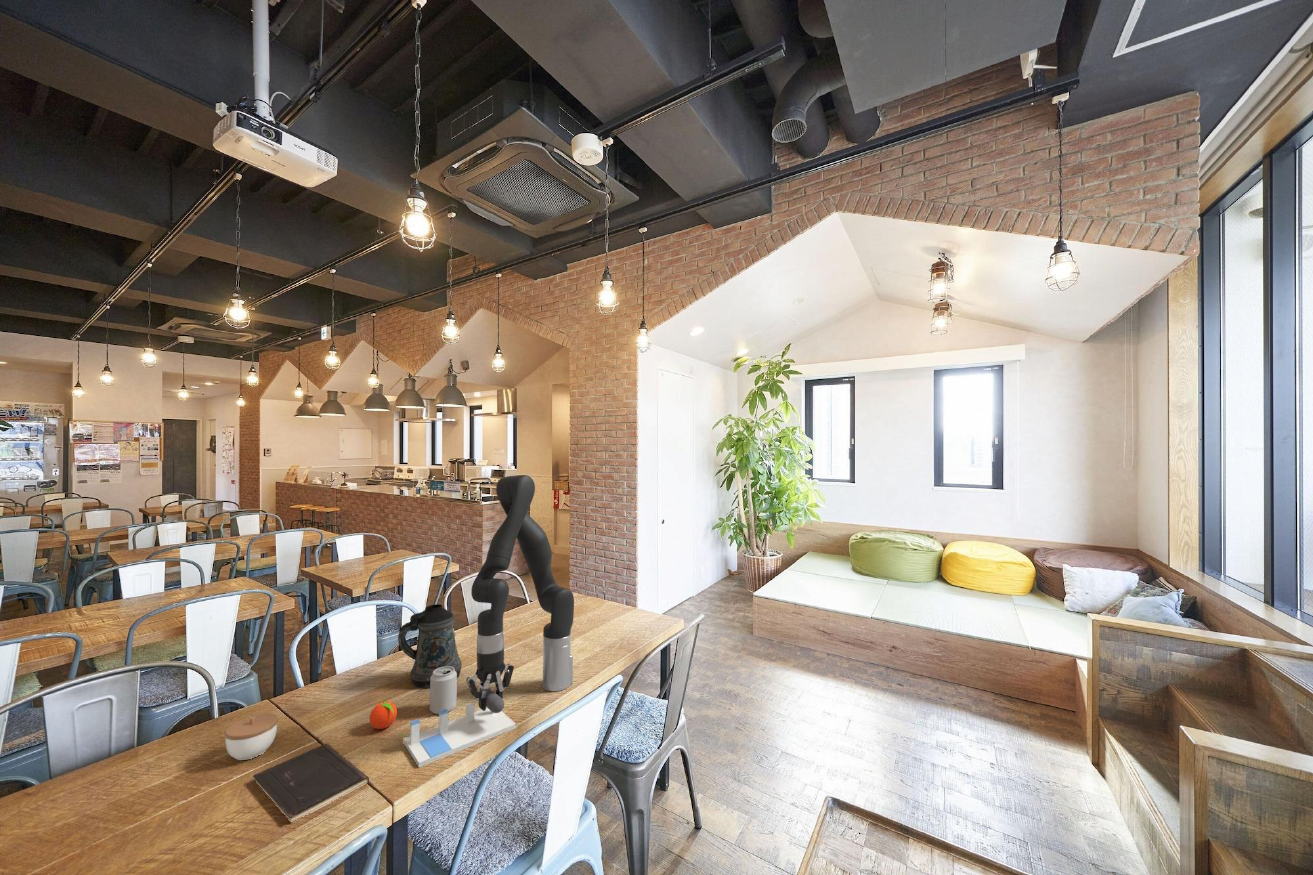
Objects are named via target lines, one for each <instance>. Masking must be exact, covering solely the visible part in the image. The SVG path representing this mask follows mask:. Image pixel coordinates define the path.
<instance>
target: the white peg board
mask: <svg viewBox="0 0 1313 875" xmlns="http://www.w3.org/2000/svg"><path fill="white" fill-rule="evenodd" d="M475 705H476V704H475V702H474V701H472V702H469V703H466V704H465V706H466V707H465V715H464V716H461V717H459V718H458V717H457V718H455V719H452V720H450V721H449V712H448V710H447V709H445V710H443V711H440V712H439V714H438V715H439V716H438V717H439V718H438V725H436V726H434V727H431V728H427V729H425V730H423V731H420V722H421V721H420V719H419V718H417V719H414V720H411V721H410V723H409V724H410V725H409V728H410V729H409V736H406V737H403V738H402V739H403V741H402V743H403V744H404V746H405V748H406V750H407V751H408V753H409V754H410V755H411V758H412V759H413V761H414V762H415V764H416V765H417V768H422V767H424V766H427V765H429V764H431V763H433V762H436V761H439V760H442V759H443V758H446V757H449V756H451V755H453V754H456V753H459V752H461V751H463V750H465V749H467V748H471V747H472V746H476V745H478V744H480V743H483V742H485V741H487V740H490V739H493V738H494V737H495V738H496V737H497V736H500V735H502V734H504V733H507V732H510V731H512V730H514V729H515V730H516V728H517V727H516V723H515V722H514V721H513V719H511V718H510V717H509V716H508V715H507V714H506V713H504V712H503V710H502V711H501V712H499V713H493V712H491V711H490V710H489V709H488V708H487V707H486V710H485V711H482V710H481V709H480V710H477V711H476V710H475V708H476V707H475Z"/></svg>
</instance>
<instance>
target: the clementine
mask: <svg viewBox="0 0 1313 875" xmlns="http://www.w3.org/2000/svg"><path fill="white" fill-rule="evenodd" d="M397 716H398V710H397V706H396V705H395V704H394V703H393V702H391V701H387V700H386V701H382V702H379V703H378V704H376V705H375V706H374V707H373V708H372V710H371V711H370V714H369V723H370V725H371V726H372V727H373V728H374V729H377V730H383V729H386V728H388V727H390V726H391V725H393V723H394V722H395V721H396V718H397Z"/></svg>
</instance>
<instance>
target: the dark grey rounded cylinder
mask: <svg viewBox="0 0 1313 875" xmlns="http://www.w3.org/2000/svg"><path fill="white" fill-rule="evenodd" d="M485 697H486V708H488V709H489V710H490V711H491V712H493V713H499V712H501V711H502V712H503V710H504V707H505V701H504V698H503V699H502V698H501V697H500V696H498V695H497V694H496V691H494V690H492V689H491V688H490V687H488V690H487V691H486V695H485ZM478 700H479V698H478Z"/></svg>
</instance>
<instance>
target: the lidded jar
mask: <svg viewBox="0 0 1313 875" xmlns="http://www.w3.org/2000/svg"><path fill="white" fill-rule="evenodd" d="M278 722H279V716H278V715H277V714H275V713H271V712H270V713H268V712H267V713H258V714H253V715H250V716H248V717H245V718H242V719H239V720H237V721H235V722H233V723H232V724H231V725H229V726H228V727H227V728H226V729H225V731H224V737H225V741H224V742H225V747H226V748H225V749H226V751H227V754H228V755H229V756H230V757H231V758H233V759H235V760H236V759H238V760H246V759H251V760H253V759H252V758H254V757H257V756H258V755H261V754H262V755H263V754H265V753H266V752H267V750H268V749H269V748H270V747H271V746H272V744H273V743H274V741H275V738H276V735H277V731H278ZM264 752H265V753H264ZM262 755H261V756H262ZM257 758H258V757H257ZM254 759H255V758H254ZM238 760H237V761H238Z"/></svg>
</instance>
